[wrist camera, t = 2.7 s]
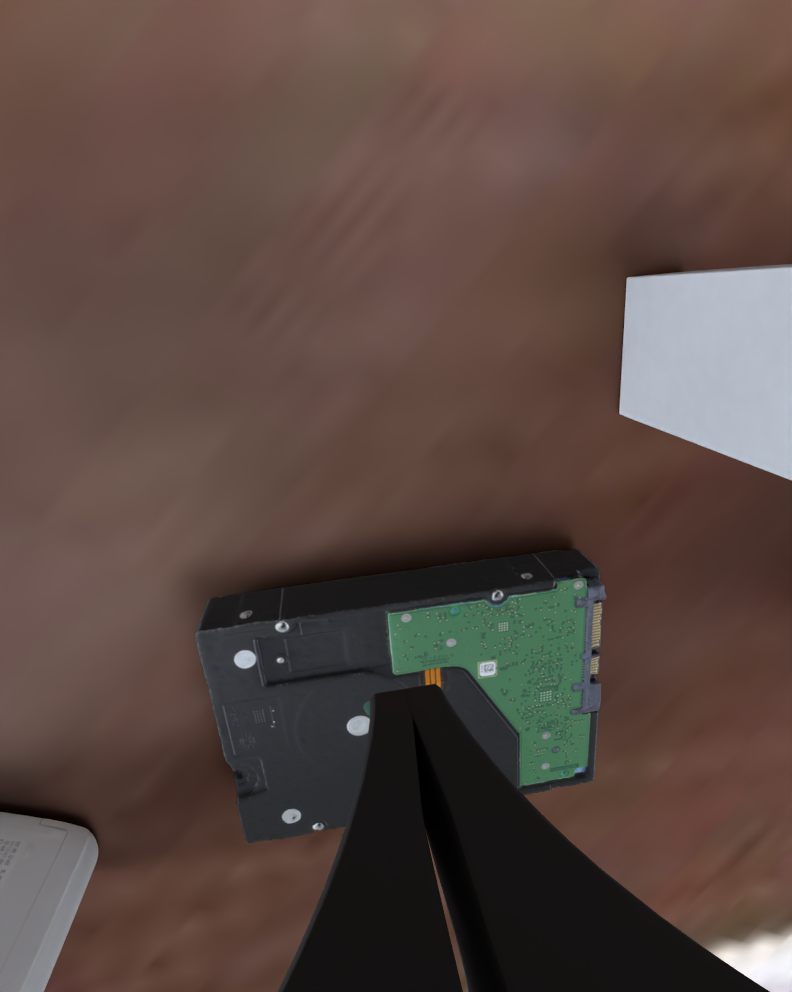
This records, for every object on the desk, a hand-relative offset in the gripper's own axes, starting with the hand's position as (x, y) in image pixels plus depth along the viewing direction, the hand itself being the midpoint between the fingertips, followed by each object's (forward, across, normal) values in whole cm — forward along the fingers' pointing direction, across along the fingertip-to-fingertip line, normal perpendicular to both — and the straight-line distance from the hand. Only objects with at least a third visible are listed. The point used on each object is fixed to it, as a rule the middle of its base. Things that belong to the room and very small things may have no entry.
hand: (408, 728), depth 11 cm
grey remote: (+10, -11, -6) cm, 16 cm away
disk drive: (+11, -1, +7) cm, 13 cm away
